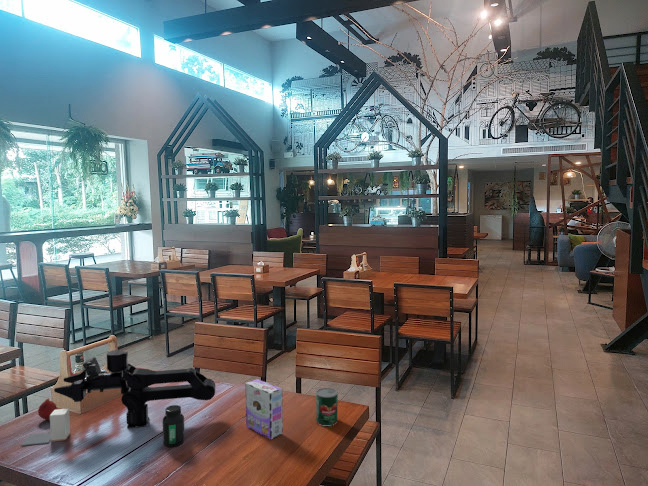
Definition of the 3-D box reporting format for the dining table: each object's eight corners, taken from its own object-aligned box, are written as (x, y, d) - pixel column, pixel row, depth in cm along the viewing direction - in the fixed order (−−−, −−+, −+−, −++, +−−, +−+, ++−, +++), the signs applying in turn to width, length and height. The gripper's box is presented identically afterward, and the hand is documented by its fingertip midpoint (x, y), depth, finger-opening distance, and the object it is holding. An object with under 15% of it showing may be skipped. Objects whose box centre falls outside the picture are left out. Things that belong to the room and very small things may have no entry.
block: (70, 433, 157) (69, 408, 156) (65, 440, 153) (64, 414, 152) (55, 434, 156) (54, 409, 156) (50, 441, 152) (49, 415, 151)
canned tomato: (325, 428, 161) (325, 398, 160) (311, 421, 167) (311, 391, 166) (342, 421, 166) (342, 392, 165) (327, 414, 172) (327, 386, 171)
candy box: (283, 434, 157) (283, 388, 156) (270, 440, 153) (270, 393, 151) (258, 421, 166) (257, 377, 165) (245, 427, 162) (244, 382, 161)
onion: (48, 424, 164) (47, 402, 163) (34, 422, 165) (33, 401, 164) (60, 416, 169) (59, 396, 169) (47, 415, 171) (46, 394, 170)
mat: (55, 433, 157) (55, 432, 157) (48, 443, 151) (48, 442, 151) (30, 435, 156) (30, 434, 156) (21, 446, 149) (21, 444, 149)
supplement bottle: (175, 450, 147) (174, 414, 146) (158, 446, 149) (157, 410, 148) (189, 439, 153) (188, 405, 152) (172, 436, 155) (171, 402, 154)
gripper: (113, 350, 170) (67, 353, 166) (99, 368, 151) (47, 371, 148) (114, 379, 170) (68, 383, 167) (101, 400, 152) (49, 404, 149)
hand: (59, 384), depth 158 cm, fingers open, 9 cm apart
